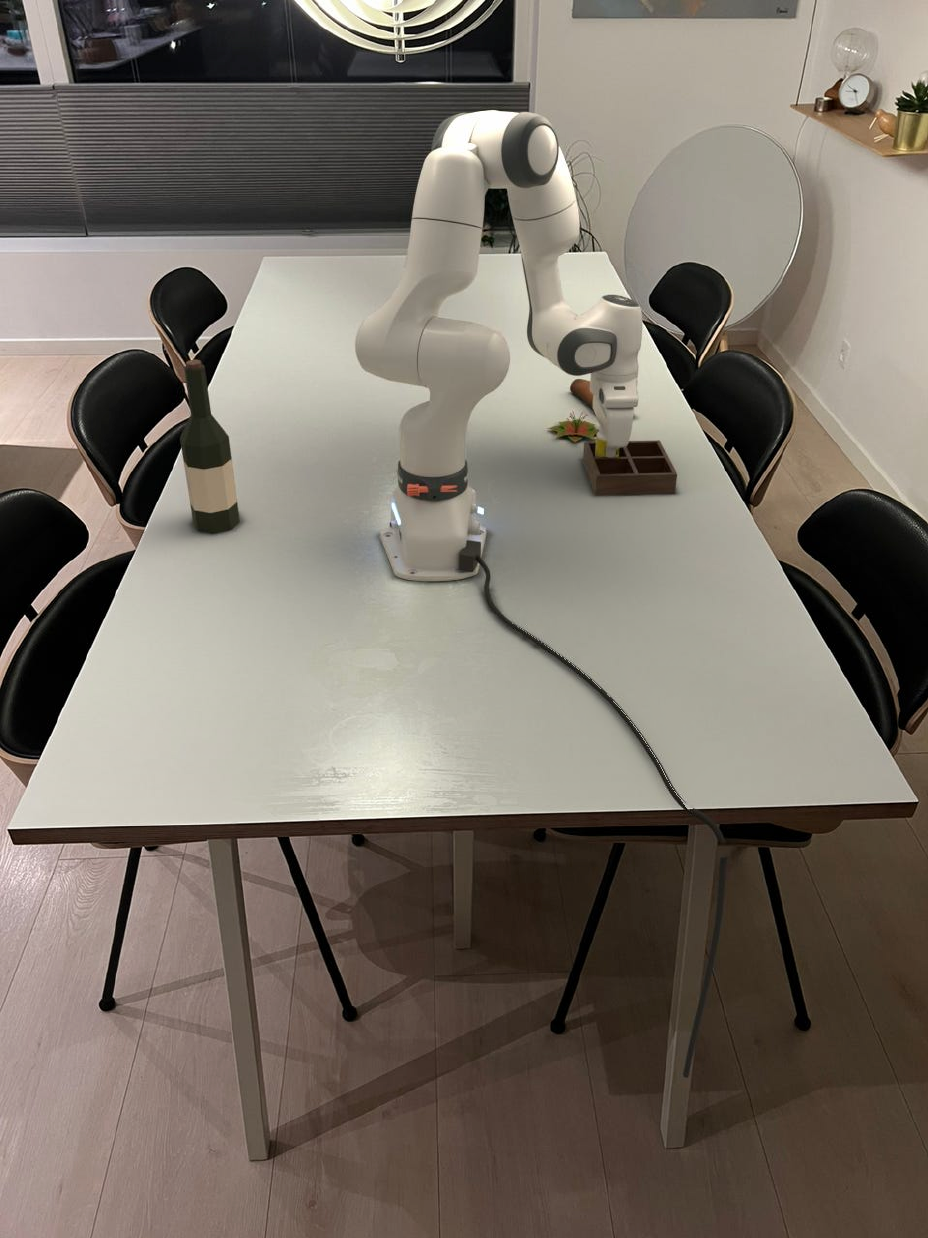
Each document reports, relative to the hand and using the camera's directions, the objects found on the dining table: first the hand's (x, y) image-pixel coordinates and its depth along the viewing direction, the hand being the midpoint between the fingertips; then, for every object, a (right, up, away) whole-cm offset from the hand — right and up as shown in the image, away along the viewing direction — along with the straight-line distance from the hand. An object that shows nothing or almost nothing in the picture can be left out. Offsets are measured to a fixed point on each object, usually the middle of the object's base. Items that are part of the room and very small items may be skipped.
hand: (607, 449), depth 206 cm
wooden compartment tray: (+4, -5, 0) cm, 7 cm away
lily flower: (-4, +6, +17) cm, 18 cm away
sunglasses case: (+3, +14, +29) cm, 33 cm away
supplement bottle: (0, -3, +2) cm, 3 cm away
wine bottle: (-73, -16, -17) cm, 77 cm away
